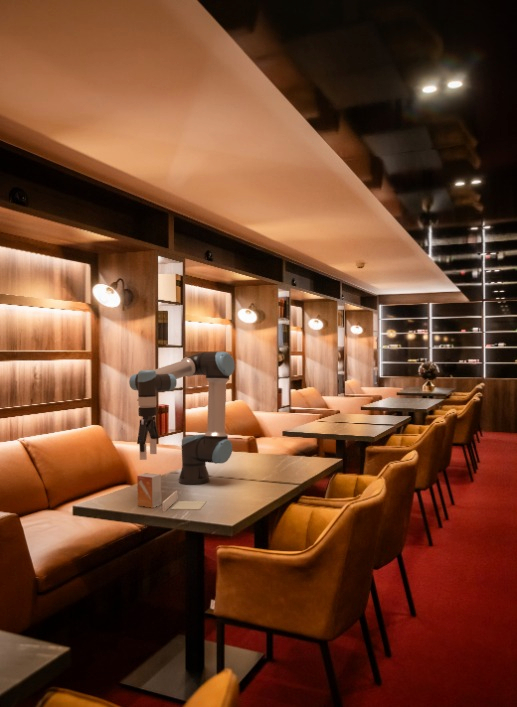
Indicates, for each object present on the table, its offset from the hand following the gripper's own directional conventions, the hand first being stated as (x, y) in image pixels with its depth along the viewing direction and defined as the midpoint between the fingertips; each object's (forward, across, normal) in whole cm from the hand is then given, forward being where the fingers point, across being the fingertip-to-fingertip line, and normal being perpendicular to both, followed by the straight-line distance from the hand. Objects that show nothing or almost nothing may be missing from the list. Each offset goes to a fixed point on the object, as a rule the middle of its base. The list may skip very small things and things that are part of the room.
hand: (148, 456), depth 250 cm
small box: (+21, 0, 0) cm, 21 cm away
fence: (+21, 0, +9) cm, 23 cm away
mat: (+21, 0, +17) cm, 27 cm away
